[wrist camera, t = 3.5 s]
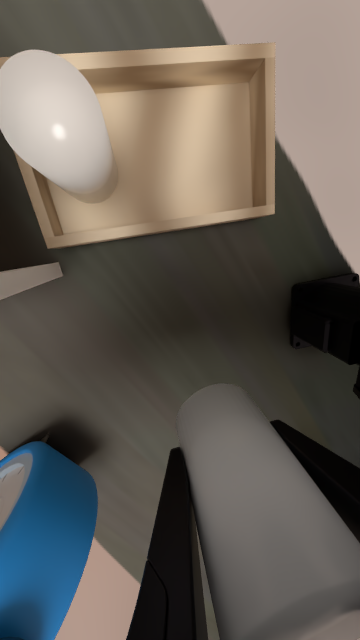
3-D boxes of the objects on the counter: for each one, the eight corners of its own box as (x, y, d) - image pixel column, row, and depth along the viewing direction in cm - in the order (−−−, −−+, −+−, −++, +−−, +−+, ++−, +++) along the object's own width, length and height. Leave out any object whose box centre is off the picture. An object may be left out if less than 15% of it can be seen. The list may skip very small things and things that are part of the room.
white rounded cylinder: (109, 130, 13) (87, 47, 8) (124, 199, 15) (114, 170, 9) (45, 137, 13) (-27, 52, 7) (66, 207, 14) (18, 181, 9)
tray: (253, 76, 14) (275, 42, 12) (256, 218, 17) (274, 213, 15) (11, 93, 12) (-19, 58, 10) (61, 248, 15) (47, 248, 13)
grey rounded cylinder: (252, 374, 10) (411, 553, 4) (254, 437, 11) (376, 637, 5) (169, 395, 9) (218, 629, 4) (182, 458, 10) (232, 701, 5)
